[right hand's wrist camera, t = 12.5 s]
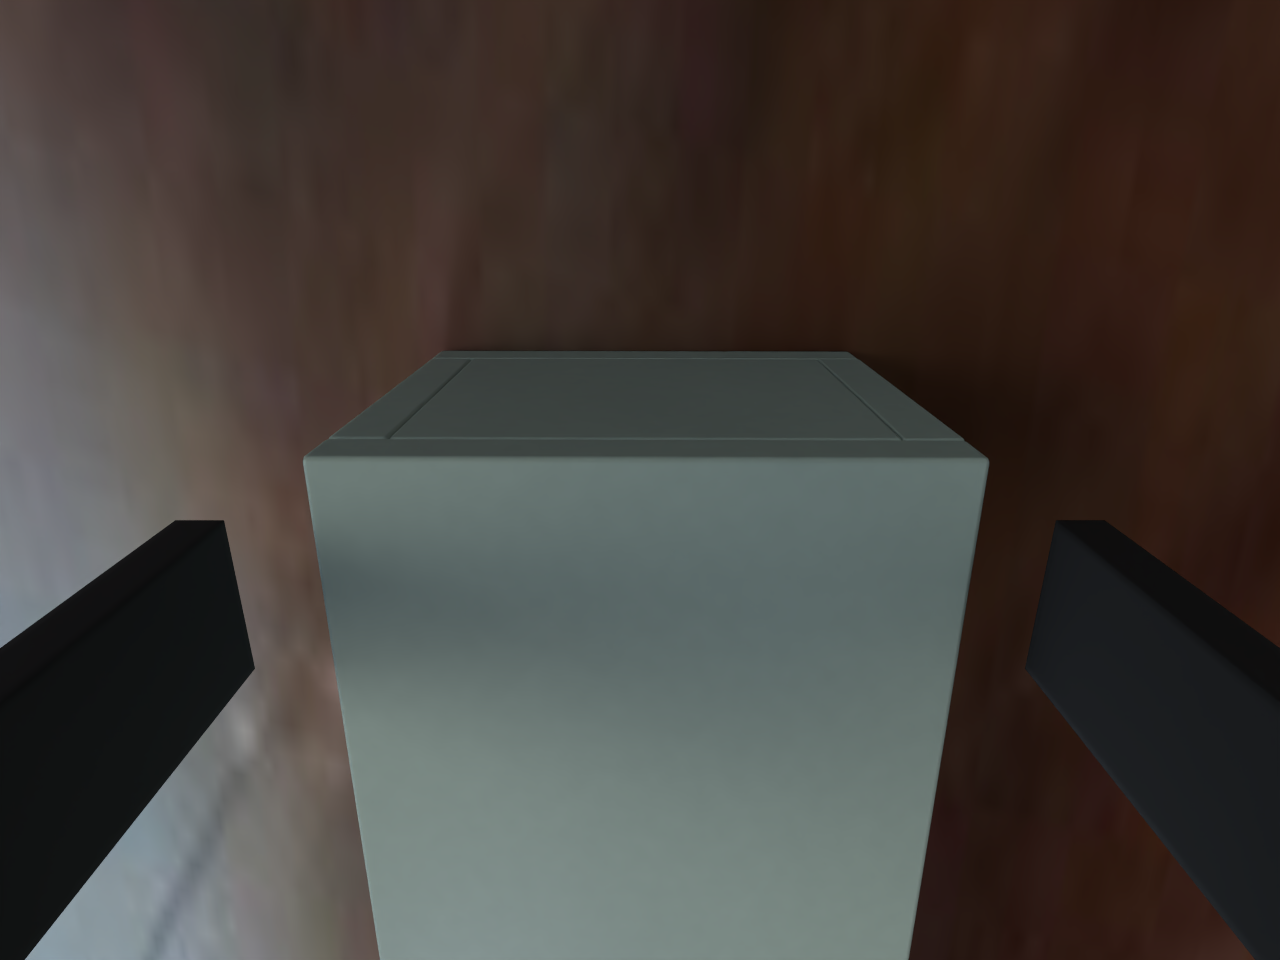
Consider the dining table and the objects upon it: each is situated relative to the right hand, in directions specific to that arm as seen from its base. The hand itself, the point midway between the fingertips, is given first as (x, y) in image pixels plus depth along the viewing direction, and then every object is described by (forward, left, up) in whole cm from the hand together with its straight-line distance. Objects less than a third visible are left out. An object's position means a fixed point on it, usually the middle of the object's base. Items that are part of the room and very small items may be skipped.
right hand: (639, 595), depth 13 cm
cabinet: (+7, +4, -8) cm, 12 cm away
